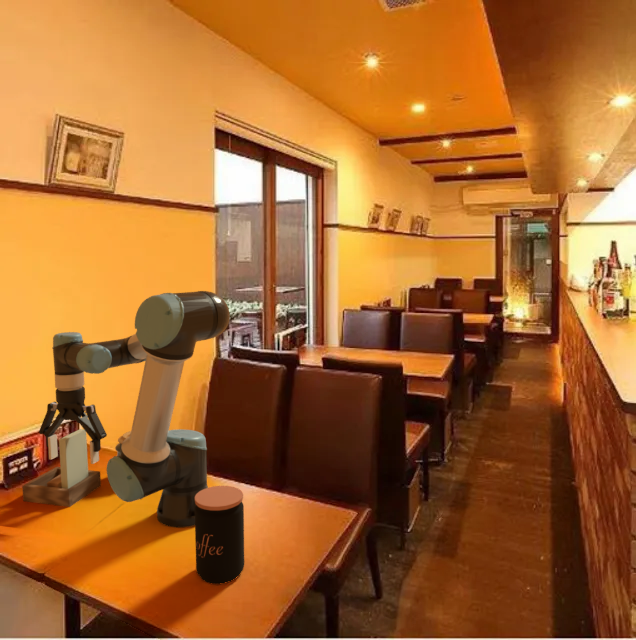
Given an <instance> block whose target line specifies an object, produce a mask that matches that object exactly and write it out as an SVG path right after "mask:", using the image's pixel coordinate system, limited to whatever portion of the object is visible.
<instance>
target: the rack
mask: <svg viewBox="0 0 636 640" xmlns="http://www.w3.org/2000/svg"><path fill="white" fill-rule="evenodd" d="M60 474H61V466H55V467H54V468H52V469H49V470H48V471H45V473H43V474H41V475H39V476H38V477H36V478H34V479H32V480H30V481H28V482H27V483H24V484H23V485H21V486H22V501H23V502H28V503H34V504H43V505H52V506H59V507H67V508H71V507H72V506H73V505H75V504H76V503H78V502H80V501H81V500H83V499H84V498H85V497H87V496H88V495H89V494H91V493H93V492H94V491H96V490H97V489H98V488H100V487H101V486H102V482H101V481H102V480H101V471H98V470H90V469H88V477H86V478H85V479H83V480H82V481H80V482H78V483H77V484H75V485H74V486H72V487H70V488H69V489H64V488H56V487H47V483H48V482H49V481H51V480H52V479H54V478H55V477H57V476H58V475H60Z"/></svg>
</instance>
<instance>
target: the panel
mask: <svg viewBox="0 0 636 640" xmlns="http://www.w3.org/2000/svg"><path fill="white" fill-rule="evenodd" d="M87 440H88V439H87V432H86V431H85V430H84V428H82V429H81V428H79V429H78V430H76V431H73V432H72V433H68V434H67V435H65V436H64V437H61V438H59V439H58V447H59V462H60V463H59V464H60V466H59V467H61V483H62V488H64V489H69V488H70V487H72V486H74V485H75V484H77V483H78V482H80V481H82V480H83V479H85V478H86V477H88V470H89V463H88V462H89V461H88V445H87V444H88V443H87V442H88V441H87Z"/></svg>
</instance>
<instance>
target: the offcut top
mask: <svg viewBox="0 0 636 640" xmlns="http://www.w3.org/2000/svg"><path fill="white" fill-rule="evenodd" d="M47 487H56V488H62V483H61V474H60V475H58V476H57V477H55V478H54V479H52V480H51V481H49V482H48V483H47Z"/></svg>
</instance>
